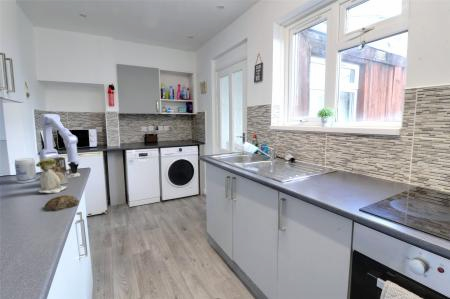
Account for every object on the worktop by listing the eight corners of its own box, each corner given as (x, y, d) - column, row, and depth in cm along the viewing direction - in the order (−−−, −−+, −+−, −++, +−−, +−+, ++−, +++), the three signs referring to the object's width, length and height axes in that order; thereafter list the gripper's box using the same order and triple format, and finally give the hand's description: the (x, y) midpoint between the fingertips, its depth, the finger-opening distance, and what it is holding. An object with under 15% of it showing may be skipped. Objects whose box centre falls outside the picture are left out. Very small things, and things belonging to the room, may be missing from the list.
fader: (69, 173, 158) (68, 168, 157) (73, 172, 160) (72, 167, 159) (70, 173, 157) (69, 168, 156) (74, 173, 159) (73, 168, 158)
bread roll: (72, 199, 113) (71, 189, 113) (82, 205, 105) (80, 195, 105) (40, 207, 103) (39, 197, 103) (48, 214, 96) (46, 203, 95)
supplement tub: (13, 184, 140) (10, 161, 138) (22, 180, 149) (19, 158, 147) (32, 182, 143) (29, 159, 140) (39, 178, 152) (36, 157, 149)
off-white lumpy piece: (47, 195, 118) (42, 161, 115) (32, 193, 123) (27, 159, 120) (70, 189, 129) (66, 157, 126) (55, 186, 134) (51, 156, 131)
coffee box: (64, 181, 144) (61, 156, 142) (68, 183, 141) (65, 157, 138) (47, 185, 137) (43, 159, 135) (50, 186, 133) (47, 160, 131)
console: (50, 176, 158) (49, 171, 157) (71, 172, 168) (71, 167, 167) (57, 179, 148) (57, 174, 147) (80, 175, 158) (79, 170, 158)
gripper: (83, 153, 151) (85, 173, 153) (75, 151, 160) (77, 170, 162) (70, 155, 146) (73, 175, 148) (63, 153, 155) (65, 172, 157)
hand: (74, 173), depth 154 cm, fingers closed
